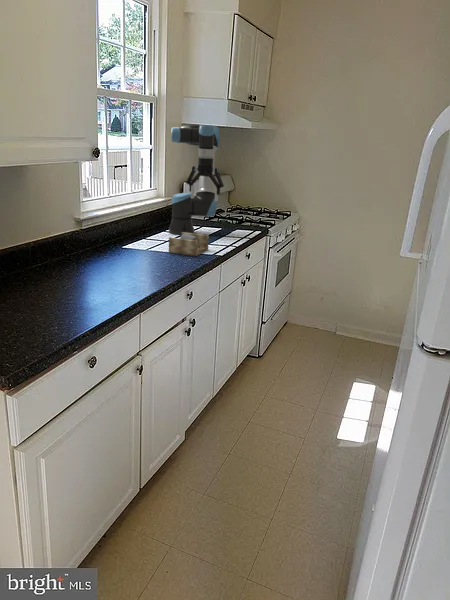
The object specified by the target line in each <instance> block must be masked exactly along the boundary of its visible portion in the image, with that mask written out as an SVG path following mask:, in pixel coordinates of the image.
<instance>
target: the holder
mask: <svg viewBox="0 0 450 600" xmlns="http://www.w3.org/2000/svg"><path fill="white" fill-rule="evenodd" d="M183 234H189V235H192V236H195V237H197V238H198V239H199V245H200V246H199V248H197V245H198V241H194V240H187V239H180V238H179V237H169V238H168V253H169V254H170V253H171V254H177V255H185V256H193V257H197V256H199V255H201V254H203V253H204V252H207V251H208V250H209V238H210V236H209V235H208V234H200V233H185V232H181V235H180V237H181V236H182V235H183Z"/></svg>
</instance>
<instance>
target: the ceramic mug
mask: <svg viewBox="0 0 450 600" xmlns="http://www.w3.org/2000/svg"><path fill="white" fill-rule="evenodd" d="M179 239H187V240H194V241H198V245H197V248H199V246H200V245H199V239H198V238H197V237H195V236H192V235H189V234H183V235H182V236H181V235H180V238H179Z"/></svg>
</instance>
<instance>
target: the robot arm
mask: <svg viewBox="0 0 450 600" xmlns="http://www.w3.org/2000/svg"><path fill="white" fill-rule="evenodd" d="M170 131H171V132H170V139H171V143H178V144H186V145H190V146H197V149H198V154H197V155H198V159H197V161H198V162H197V166H196V165H193V166H192V167H191V172H190V174H189V175H188V178H187V180H186V182H185V184H186V185H189V190H188V191H189V192H181V193H179V192H178V193H176V194H173V196H172V199H171V201H172V202H171V204H172V205H171V206H172V208H171V221H170V224H169V227H168V233H169V234H172V235H179V236H181V232H185V233H193V234H195V228H194V224H193V221H192V219H193V217H194V216H195V217H206V218H207V217H214V216H215V215H216V211H217V207H218V206H217V205H218V201H219V195H221V188H223V187H224V185H225V184H224V182H223V179H222V178H221V174H220V172H219V171H220V170H219V167H217V168H215V158H216V156H215V154H216V153H215V152H217V151H218V147H219V148H220V146H221V140H220V128H219V127H218V126H216V125H211V124H210V125H208V124H207V125H206V124H205V125H204V124H188V125H183V126H181V127H178V126H177V127H175V126H174V127H171V130H170ZM196 171H198V173H197V174H196ZM195 174H196V176H195ZM214 175H215V176H214ZM215 177H216V178H215ZM197 181H198V190H197V191H196V193H195V183H196V182H197ZM214 186H215V188H214ZM192 216H193V217H192Z"/></svg>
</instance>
